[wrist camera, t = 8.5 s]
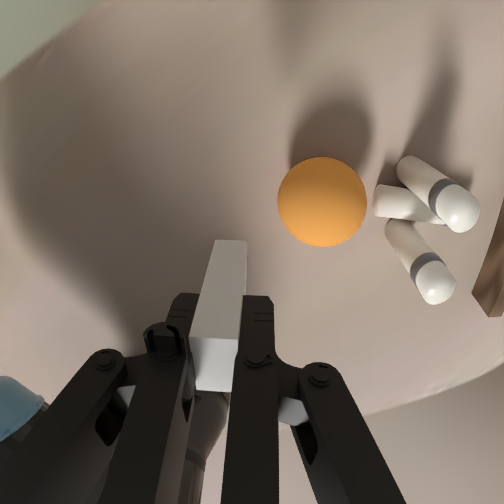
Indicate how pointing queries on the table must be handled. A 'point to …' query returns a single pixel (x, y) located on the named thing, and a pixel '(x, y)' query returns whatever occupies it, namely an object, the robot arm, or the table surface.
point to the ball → (322, 201)
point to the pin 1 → (439, 193)
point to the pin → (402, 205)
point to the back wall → (492, 274)
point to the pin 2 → (420, 261)
